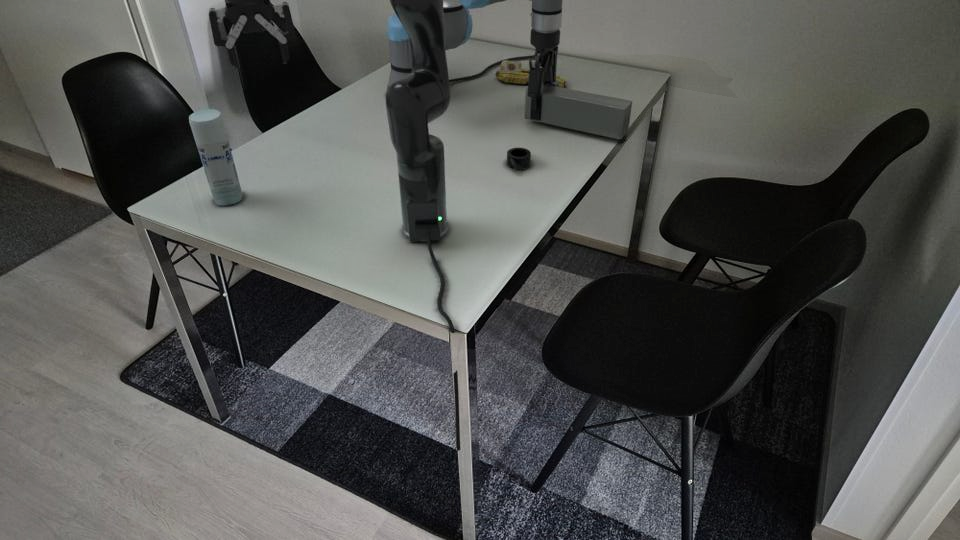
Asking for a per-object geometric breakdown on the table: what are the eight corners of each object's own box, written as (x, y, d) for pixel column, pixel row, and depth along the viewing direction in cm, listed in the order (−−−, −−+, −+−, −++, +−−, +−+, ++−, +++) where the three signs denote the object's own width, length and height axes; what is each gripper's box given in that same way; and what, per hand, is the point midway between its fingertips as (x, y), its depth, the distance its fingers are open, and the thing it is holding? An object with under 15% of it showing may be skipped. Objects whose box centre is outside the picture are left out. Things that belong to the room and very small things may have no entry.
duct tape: (494, 167, 154) (494, 156, 152) (516, 151, 160) (516, 141, 158) (520, 176, 150) (521, 165, 148) (542, 160, 156) (543, 149, 155)
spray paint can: (212, 194, 144) (187, 111, 131) (242, 188, 145) (220, 107, 133) (214, 208, 139) (188, 124, 127) (244, 202, 141) (222, 119, 128)
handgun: (569, 72, 204) (565, 89, 193) (500, 66, 208) (492, 82, 196) (570, 65, 203) (566, 81, 191) (501, 58, 206) (492, 74, 195)
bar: (628, 130, 166) (632, 100, 161) (621, 139, 162) (625, 109, 157) (533, 110, 177) (534, 82, 172) (524, 118, 173) (525, 89, 168)
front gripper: (282, -37, 112) (298, 54, 122) (198, -31, 109) (221, 62, 119) (285, -27, 106) (301, 67, 116) (195, -21, 103) (221, 76, 113)
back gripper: (547, 16, 167) (541, 100, 181) (516, 37, 154) (512, 125, 168) (573, 20, 164) (566, 105, 178) (544, 41, 151) (538, 130, 165)
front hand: (261, 64), depth 117 cm, fingers open, 8 cm apart
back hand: (540, 114), depth 173 cm, fingers closed on bar, 6 cm apart
